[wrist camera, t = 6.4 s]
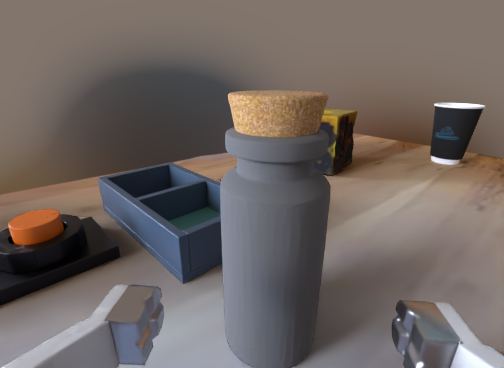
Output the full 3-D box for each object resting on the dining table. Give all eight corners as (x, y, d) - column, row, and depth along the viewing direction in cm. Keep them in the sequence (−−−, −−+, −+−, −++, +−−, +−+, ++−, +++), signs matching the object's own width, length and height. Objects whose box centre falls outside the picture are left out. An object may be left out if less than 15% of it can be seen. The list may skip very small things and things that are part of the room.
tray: (173, 190, 41) (170, 162, 40) (264, 239, 29) (265, 201, 28) (104, 210, 35) (97, 177, 34) (183, 284, 23) (178, 238, 21)
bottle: (220, 372, 16) (207, 96, 11) (228, 297, 22) (222, 89, 16) (323, 373, 16) (361, 97, 11) (305, 297, 22) (324, 89, 16)
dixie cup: (459, 157, 59) (473, 103, 55) (476, 168, 52) (495, 107, 48) (417, 155, 61) (428, 102, 57) (428, 165, 54) (442, 105, 50)
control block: (93, 225, 32) (87, 201, 31) (120, 256, 26) (115, 228, 25) (-30, 264, 25) (-42, 234, 24) (-26, 315, 20) (-42, 280, 19)
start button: (59, 221, 27) (54, 205, 26) (69, 236, 25) (64, 218, 24) (11, 235, 25) (5, 217, 24) (17, 252, 22) (10, 233, 22)
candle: (352, 163, 55) (359, 110, 51) (333, 177, 47) (340, 116, 44) (304, 155, 60) (307, 107, 57) (280, 166, 53) (282, 111, 49)
